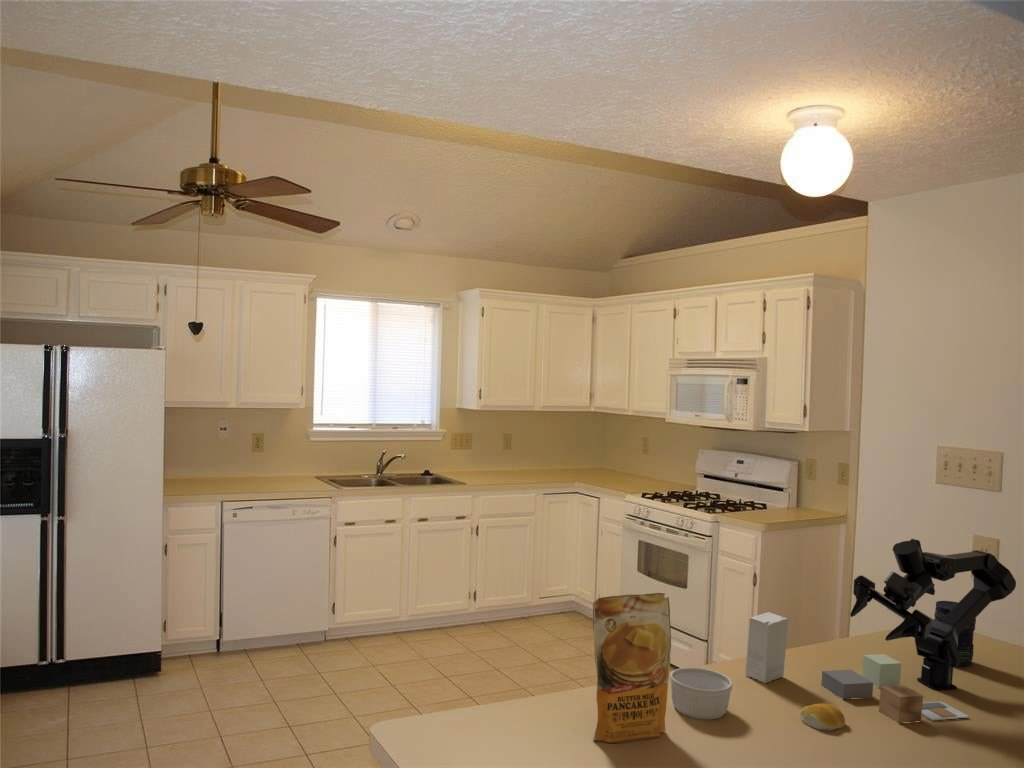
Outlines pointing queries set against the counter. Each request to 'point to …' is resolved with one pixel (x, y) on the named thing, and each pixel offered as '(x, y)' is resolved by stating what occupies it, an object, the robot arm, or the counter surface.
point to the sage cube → (881, 670)
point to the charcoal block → (847, 684)
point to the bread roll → (822, 717)
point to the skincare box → (766, 647)
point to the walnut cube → (900, 703)
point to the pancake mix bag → (631, 666)
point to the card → (941, 711)
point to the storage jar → (964, 638)
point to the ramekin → (700, 692)
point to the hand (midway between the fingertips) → (868, 627)
